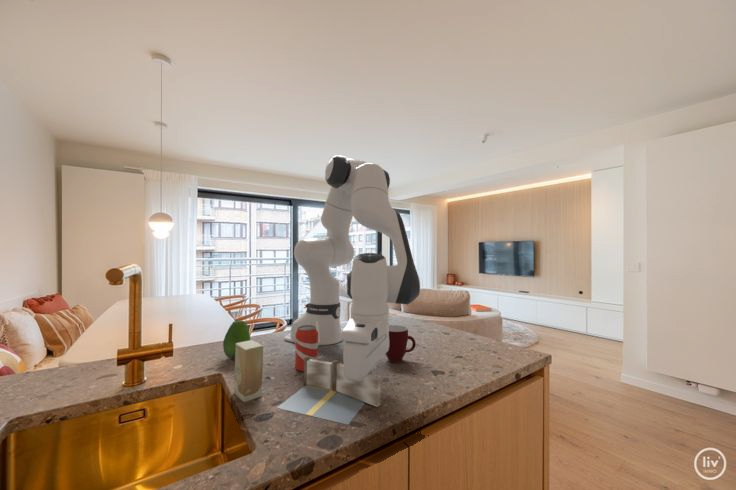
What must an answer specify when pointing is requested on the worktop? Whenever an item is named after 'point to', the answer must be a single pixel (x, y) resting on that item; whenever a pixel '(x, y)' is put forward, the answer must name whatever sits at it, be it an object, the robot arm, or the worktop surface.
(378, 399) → the fence panel
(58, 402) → the worktop surface
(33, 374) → the worktop surface
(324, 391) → the card
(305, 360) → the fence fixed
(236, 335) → the fruit
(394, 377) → the worktop surface
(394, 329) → the mug
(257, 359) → the skincare box
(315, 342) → the beverage can
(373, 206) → the robot arm
